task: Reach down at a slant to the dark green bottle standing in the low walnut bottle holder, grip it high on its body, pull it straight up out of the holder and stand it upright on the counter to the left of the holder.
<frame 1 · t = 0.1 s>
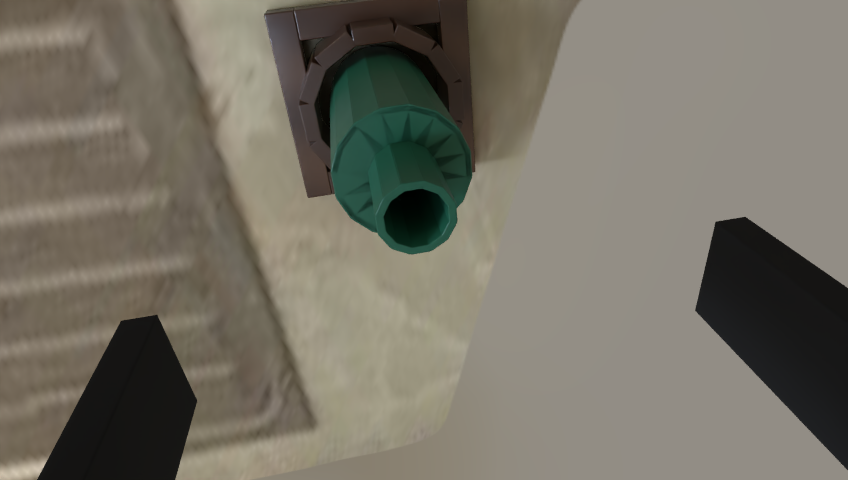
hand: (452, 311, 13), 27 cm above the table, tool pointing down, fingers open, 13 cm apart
holder: (379, 95, 37), on the table
bottle: (392, 140, 29), in the holder
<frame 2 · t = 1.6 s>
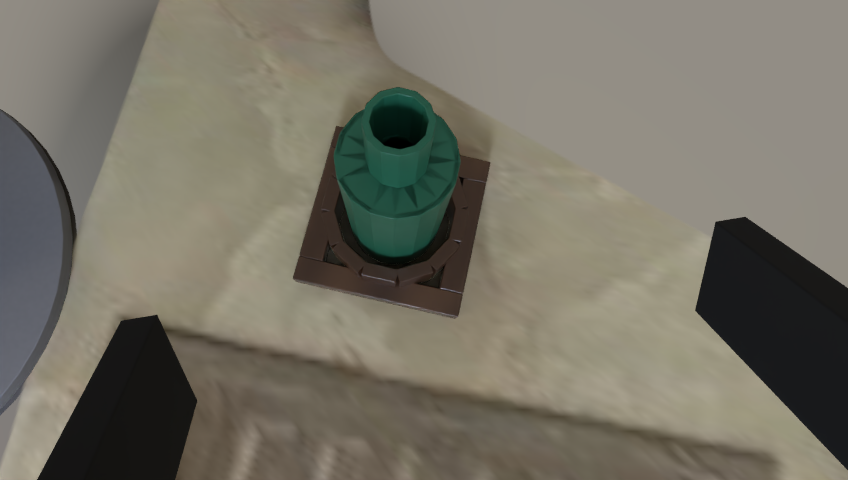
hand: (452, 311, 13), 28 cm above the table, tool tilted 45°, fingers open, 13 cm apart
holder: (394, 223, 42), on the table
bottle: (396, 186, 33), in the holder
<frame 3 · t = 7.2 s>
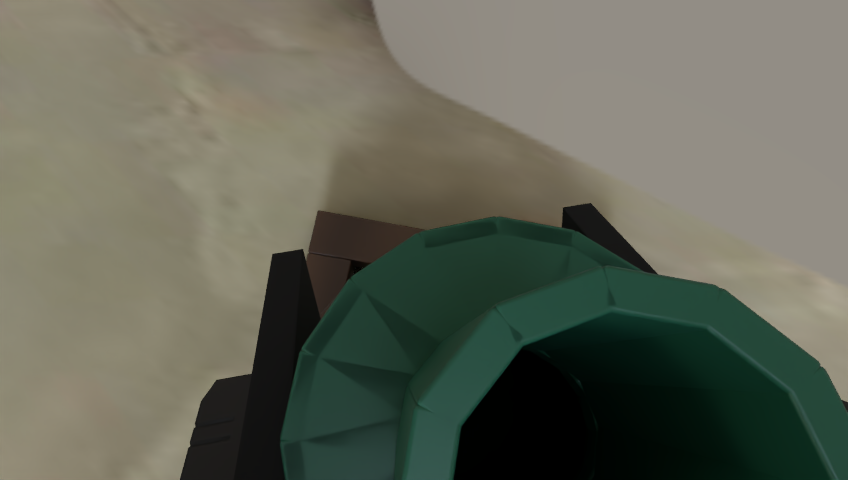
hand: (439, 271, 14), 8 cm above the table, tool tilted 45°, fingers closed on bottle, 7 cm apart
holder: (440, 392, 21), on the table
bottle: (469, 410, 12), in the holder, touching gripper
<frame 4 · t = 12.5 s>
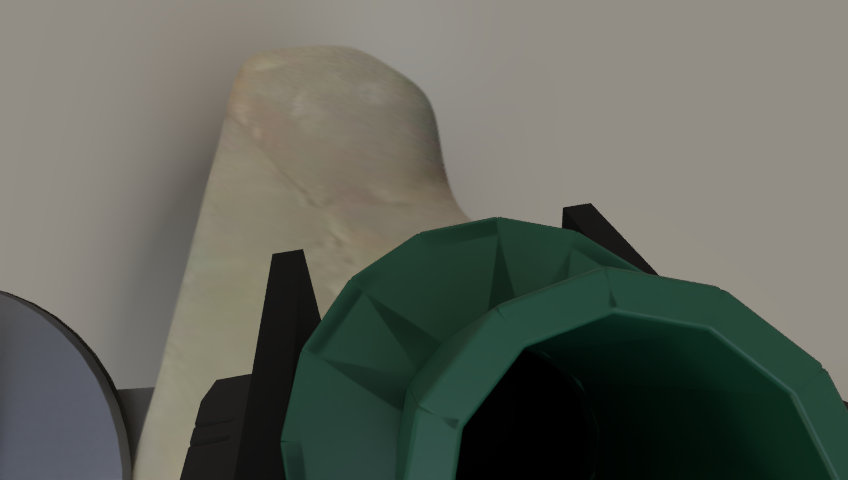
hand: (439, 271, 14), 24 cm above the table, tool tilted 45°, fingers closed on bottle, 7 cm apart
bottle: (469, 410, 12), point 25 cm above the table, touching gripper
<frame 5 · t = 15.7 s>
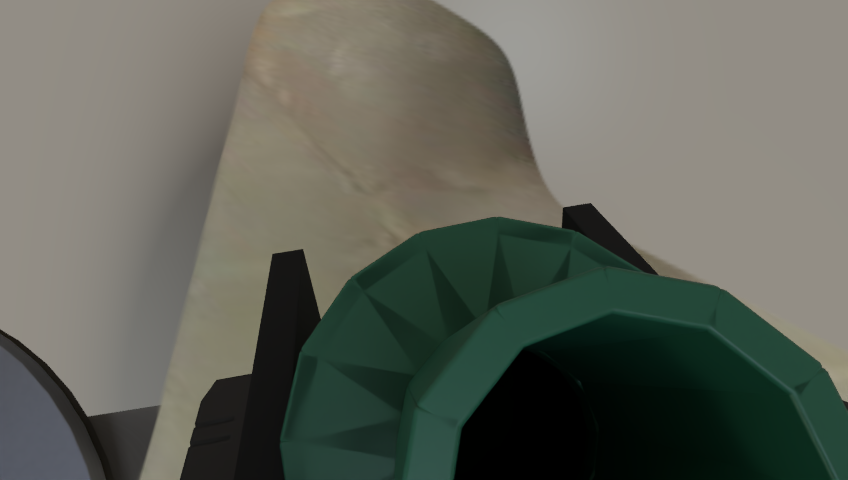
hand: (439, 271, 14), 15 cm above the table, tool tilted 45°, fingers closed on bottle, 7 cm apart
bottle: (469, 410, 12), point 16 cm above the table, touching gripper
when the fingers open (8 cm above the table, at t = 17.9 s): bottle stays where it is, on the table.
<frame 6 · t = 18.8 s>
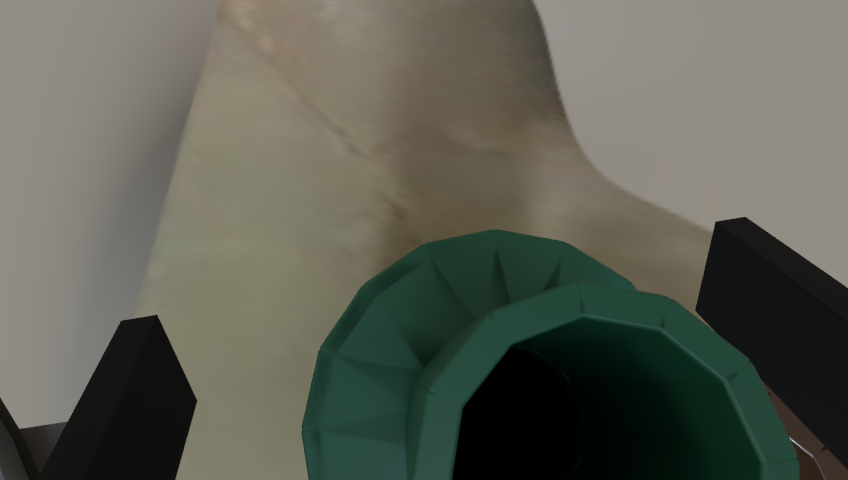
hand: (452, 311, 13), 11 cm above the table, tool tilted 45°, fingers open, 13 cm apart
bottle: (470, 406, 13), on the table
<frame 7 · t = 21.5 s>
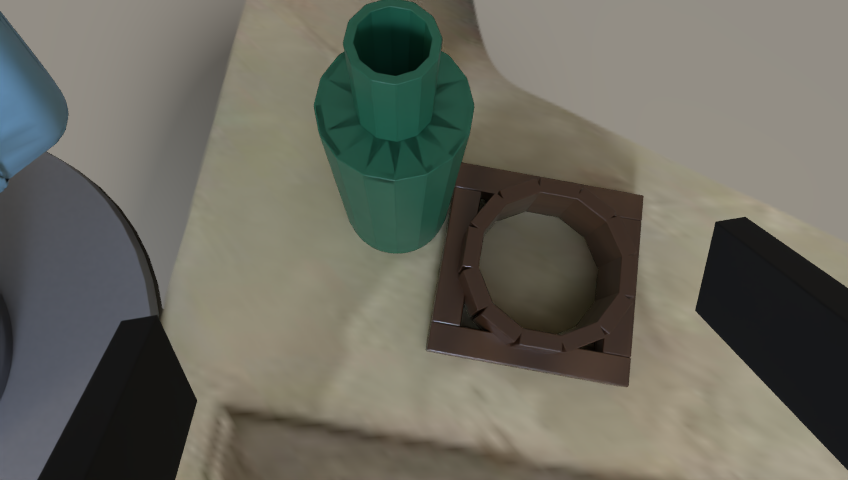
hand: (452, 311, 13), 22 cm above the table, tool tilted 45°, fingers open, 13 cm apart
holder: (534, 273, 35), on the table
bottle: (395, 150, 27), on the table
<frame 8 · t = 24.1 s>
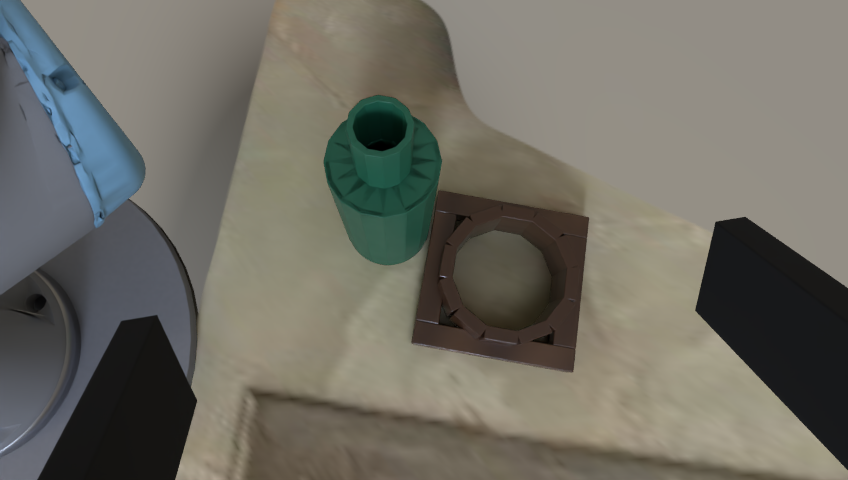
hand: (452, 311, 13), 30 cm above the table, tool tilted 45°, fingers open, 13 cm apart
holder: (500, 281, 43), on the table
bottle: (385, 188, 35), on the table
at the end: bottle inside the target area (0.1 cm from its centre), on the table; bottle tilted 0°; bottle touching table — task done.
